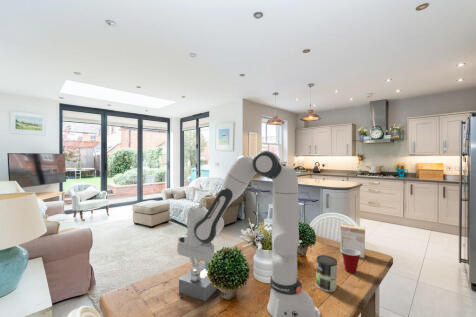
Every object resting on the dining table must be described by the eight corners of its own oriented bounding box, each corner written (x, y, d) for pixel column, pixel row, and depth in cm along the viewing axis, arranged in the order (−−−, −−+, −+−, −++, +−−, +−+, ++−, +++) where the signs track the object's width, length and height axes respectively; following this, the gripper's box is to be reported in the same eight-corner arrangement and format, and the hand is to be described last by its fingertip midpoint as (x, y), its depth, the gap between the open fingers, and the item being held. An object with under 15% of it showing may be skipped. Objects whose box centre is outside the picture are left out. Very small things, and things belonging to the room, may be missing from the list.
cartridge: (207, 273, 124) (208, 258, 124) (215, 275, 122) (215, 260, 121) (195, 284, 113) (195, 268, 113) (203, 287, 111) (203, 270, 111)
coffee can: (320, 291, 112) (320, 264, 111) (313, 280, 122) (313, 254, 122) (340, 291, 112) (341, 264, 112) (331, 280, 122) (332, 255, 122)
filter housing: (199, 274, 126) (200, 263, 126) (223, 281, 119) (224, 269, 119) (178, 292, 110) (178, 279, 110) (205, 301, 103) (205, 287, 103)
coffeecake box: (364, 254, 154) (365, 226, 154) (364, 258, 148) (364, 229, 148) (341, 249, 162) (341, 223, 162) (339, 253, 156) (340, 225, 156)
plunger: (202, 281, 110) (202, 268, 110) (196, 287, 106) (196, 273, 106) (194, 279, 112) (194, 266, 112) (188, 284, 108) (188, 271, 108)
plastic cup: (351, 265, 139) (352, 246, 139) (364, 274, 128) (365, 254, 128) (336, 266, 137) (336, 247, 137) (348, 276, 126) (349, 255, 126)
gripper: (217, 240, 107) (217, 268, 107) (183, 233, 116) (183, 259, 116) (210, 245, 101) (209, 275, 102) (175, 237, 110) (175, 264, 110)
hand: (195, 266), depth 109 cm, fingers closed
